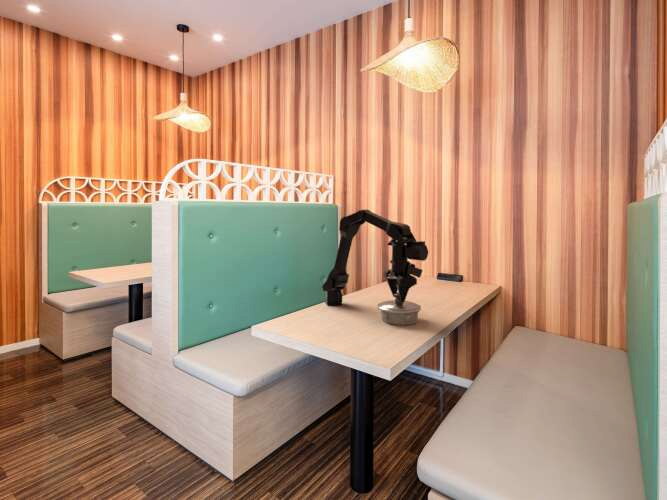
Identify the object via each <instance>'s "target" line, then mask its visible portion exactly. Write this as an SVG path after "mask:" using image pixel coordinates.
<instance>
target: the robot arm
mask: <svg viewBox="0 0 667 500" xmlns="http://www.w3.org/2000/svg"><path fill="white" fill-rule="evenodd" d="M365 223H368V224H370V225H371V226H374V227H376V228H377V229H380V230H381V231H383V232H385V234H386V235H387V236H388V237H389V238H391V240H390V241H388V242H387V244H386V245H387V246H391V259H390V260H389V264H391V269H390V268H389V269H386V268H385V269H384V271H383V277H385V280H386V281H385V282H386V283H387V285H388V287H389V290H390V292H391V295H392V297H394V298H395V296H394V293H399V296H400V299H401V302H405V301H406V299H407V296H408V293H409V290H410V289H412V287H414V286H416V285H418V278H419V279H420V278H421V275H422V273H423V269H421V268H418V267H416V264H414V263H411V262H410V261H409V260H414V261H421V262H424V261H426V260H427V258H428V256H429V250H428V247H427V245H426V241H425V240H424V241H423V240H421V241H417V239H416V238H415V236H414V234H413V232H412V230H411V226H410V225H408V224H406V223H402V222H397V221H391V220H390V219H387V218H385V217H383V216H382V215H379V214H377V213H375V212H372V211H371V210H369V209H359V210H358V211H356V212H354V213H351V214H349V215H347V216H342V217H341V218H340V221H339V228H338V229H339V233H340V240H339V244H338V250H337V254H336V258H335V263H334V265H333V268H332V269H331V271H329V273H328V276H327V277H326V278H327V279H326V281H325V282H324V283H323V284H322V286H321V288H322V290H323V292H325V302H324V303H325V304H326V305H327V306H328V307H330V306H342V305H343V292H342V290H344V289H345V287H346V285H347V284H348V283H349V278H350V274H349V273H348V272H347V269H346V268H347V263H348V259H349V255H350V253H351V247H352V244H353V239H354V237H355V236H356V235H357V234H358V233H359V230H360V227H361V226H362V225H364V224H365ZM416 277H417V278H416Z"/></svg>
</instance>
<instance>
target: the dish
mask: <svg viewBox="0 0 667 500" xmlns="http://www.w3.org/2000/svg"><path fill="white" fill-rule="evenodd" d="M380 311H381V310H380ZM380 316H381V317H380V318H381V319H382V321H384V322H385V323H387V324H390V325H398V326H399V325H400V326H403V325H404V326H410V325H413V324H416V323H417V321H418V317H419V312H416V313H411V314H396V313H389V312H384V311H381V314H380Z"/></svg>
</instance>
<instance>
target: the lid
mask: <svg viewBox="0 0 667 500" xmlns="http://www.w3.org/2000/svg"><path fill="white" fill-rule="evenodd" d="M394 296H395V297H394V299H393V300H385V301H382V302H378V304H377V309H378V310H379V311H384V312H389V313H396V314H411V313H416V312H418V313H419V312H421V309H422V306H421V305H420V304H417V303H416V302H413V301H409V300H408V301H407V300H405V302H401V299H400V296H399V292H397V293H394Z"/></svg>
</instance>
